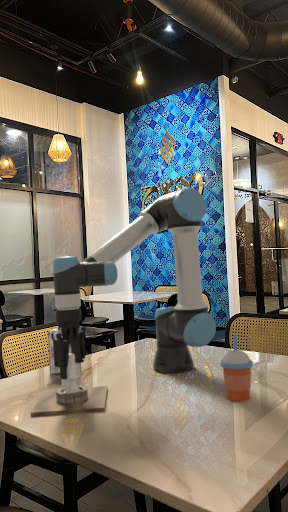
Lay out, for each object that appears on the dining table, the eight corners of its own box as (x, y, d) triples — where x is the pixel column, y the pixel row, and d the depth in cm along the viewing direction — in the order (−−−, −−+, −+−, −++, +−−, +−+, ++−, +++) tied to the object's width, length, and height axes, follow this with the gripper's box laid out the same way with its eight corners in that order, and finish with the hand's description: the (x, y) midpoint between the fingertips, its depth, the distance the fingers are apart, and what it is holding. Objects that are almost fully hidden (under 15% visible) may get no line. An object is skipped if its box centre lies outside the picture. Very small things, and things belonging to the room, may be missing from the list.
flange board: (107, 389, 133) (106, 378, 133) (104, 411, 113) (104, 398, 113) (44, 393, 132) (44, 382, 132) (30, 416, 112) (30, 403, 112)
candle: (68, 396, 119) (66, 355, 119) (59, 392, 123) (58, 352, 124) (84, 392, 123) (82, 351, 123) (75, 388, 127) (73, 349, 127)
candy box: (64, 374, 154) (62, 330, 154) (49, 374, 155) (47, 330, 155) (77, 365, 168) (75, 324, 168) (63, 365, 169) (61, 325, 169)
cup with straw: (236, 406, 112) (232, 339, 113) (215, 397, 120) (212, 335, 121) (261, 399, 116) (258, 335, 117) (240, 391, 125) (236, 331, 125)
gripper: (75, 305, 133) (79, 378, 132) (38, 311, 117) (41, 394, 117) (95, 305, 129) (98, 380, 129) (59, 312, 114) (63, 397, 113)
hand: (71, 386), depth 123 cm, fingers closed on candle, 4 cm apart
